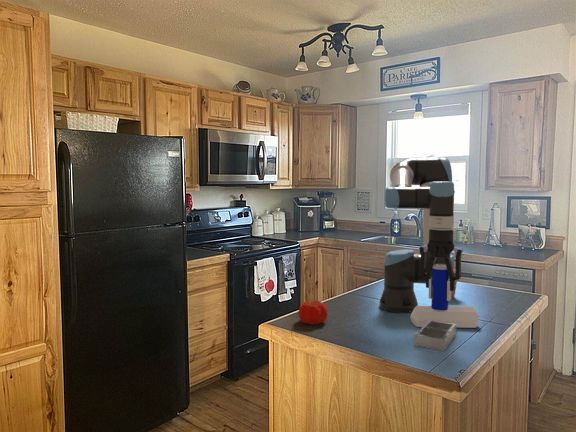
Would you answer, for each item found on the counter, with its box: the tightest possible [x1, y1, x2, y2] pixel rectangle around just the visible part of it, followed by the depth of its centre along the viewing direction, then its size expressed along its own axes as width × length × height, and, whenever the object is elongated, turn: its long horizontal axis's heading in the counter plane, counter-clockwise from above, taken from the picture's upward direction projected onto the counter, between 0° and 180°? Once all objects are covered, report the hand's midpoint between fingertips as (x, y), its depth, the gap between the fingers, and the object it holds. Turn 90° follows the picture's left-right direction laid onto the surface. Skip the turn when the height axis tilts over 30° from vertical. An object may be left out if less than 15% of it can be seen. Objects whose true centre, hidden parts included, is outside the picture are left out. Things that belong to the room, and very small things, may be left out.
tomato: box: [298, 300, 329, 326], centre depth 163 cm, size 11×11×8 cm
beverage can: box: [430, 264, 449, 312], centre depth 146 cm, size 5×5×15 cm
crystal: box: [409, 305, 480, 329], centre depth 158 cm, size 7×7×24 cm
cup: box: [451, 268, 458, 299], centre depth 196 cm, size 9×8×12 cm
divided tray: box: [414, 320, 457, 352], centre depth 144 cm, size 9×17×4 cm, turn 148°
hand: (439, 298), depth 147 cm, fingers closed on beverage can, 5 cm apart
